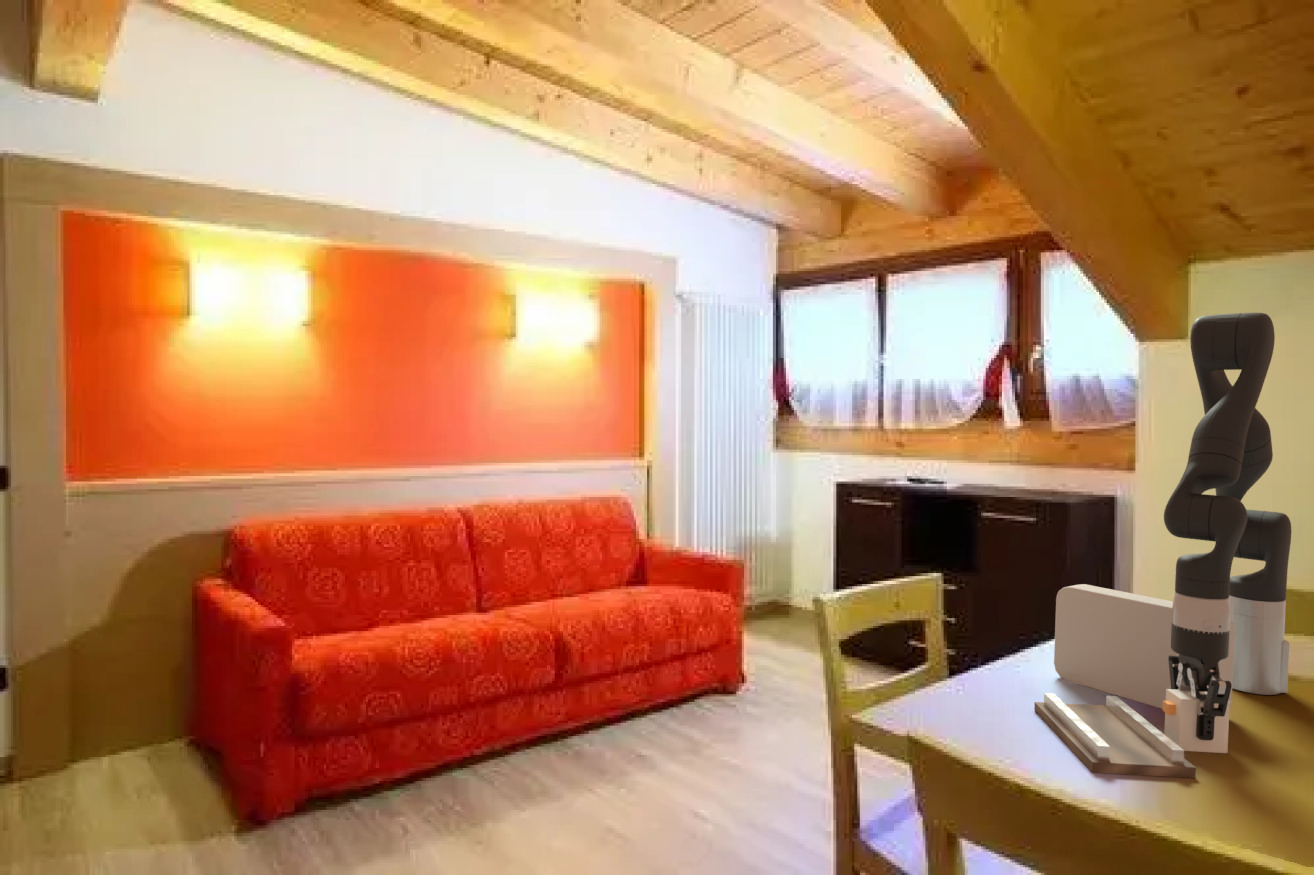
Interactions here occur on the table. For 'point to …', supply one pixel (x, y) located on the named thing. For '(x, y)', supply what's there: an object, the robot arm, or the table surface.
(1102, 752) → the mounting rail
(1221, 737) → the block
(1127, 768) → the mounting board
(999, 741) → the table surface
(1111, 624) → the rounded white slab
